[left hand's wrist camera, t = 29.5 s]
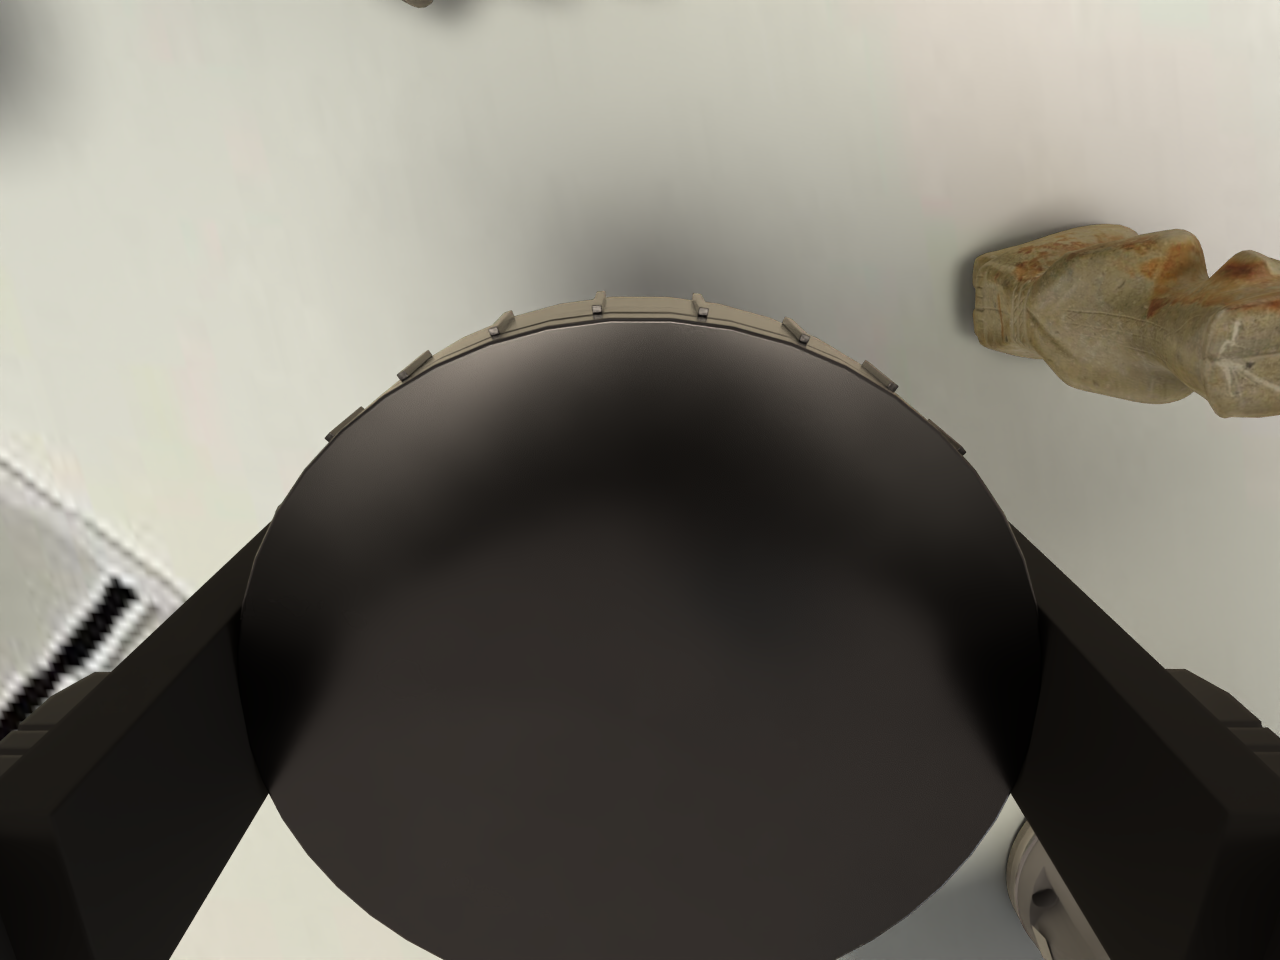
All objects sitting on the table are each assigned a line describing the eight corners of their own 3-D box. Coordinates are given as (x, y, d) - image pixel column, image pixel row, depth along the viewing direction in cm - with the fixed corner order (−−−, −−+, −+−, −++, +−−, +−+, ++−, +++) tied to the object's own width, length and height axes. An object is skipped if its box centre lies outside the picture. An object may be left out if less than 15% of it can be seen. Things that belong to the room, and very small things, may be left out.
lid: (665, 1001, 14) (669, 1104, 13) (151, 672, 12) (76, 749, 10) (1139, 618, 12) (1217, 688, 10) (597, 105, 9) (589, 91, 8)
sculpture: (1111, 341, 37) (1401, 449, 23) (949, 358, 37) (1138, 474, 23) (1124, 205, 35) (1452, 231, 21) (953, 223, 35) (1163, 262, 21)
